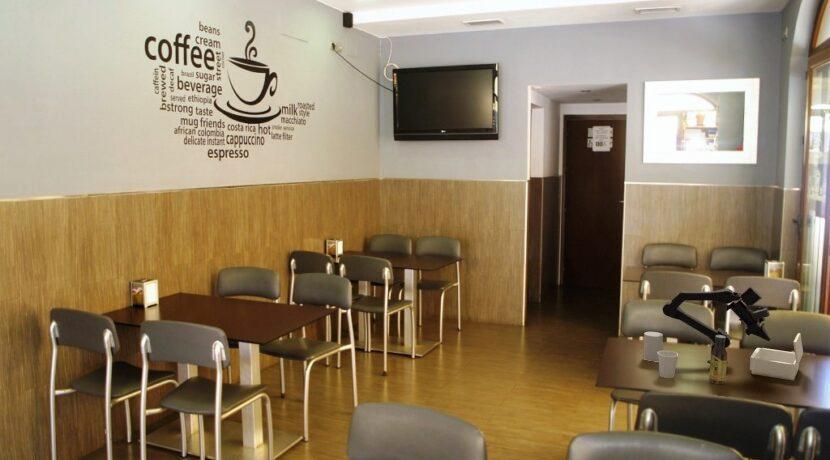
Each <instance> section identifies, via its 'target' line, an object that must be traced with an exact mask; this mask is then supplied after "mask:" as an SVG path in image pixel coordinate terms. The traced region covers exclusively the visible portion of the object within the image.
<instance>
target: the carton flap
mask: <svg viewBox="0 0 830 460" xmlns="http://www.w3.org/2000/svg"><path fill="white" fill-rule="evenodd" d="M792 344H793V349H794V353H795V358H796V363H799V364H800V361H801V360H802V358H803V355H804V350H803V343H802V334H801V332H799V333H797V334H796V336H795V338H794V340H793V343H792Z"/></svg>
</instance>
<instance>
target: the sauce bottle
mask: <svg viewBox="0 0 830 460" xmlns="http://www.w3.org/2000/svg"><path fill="white" fill-rule="evenodd" d="M725 341H726V337H725V336H722V335H716V336H715V346H714V349H713V351H712V353H711V352H710V359H709V360H710V362H709V376H708V377H709V382H710V383H712V384H714V385H724V384H725V383H726V378H727V377H726V376H727V367H728V366H727V364H728V363H727V362H728V351H727V348H725Z"/></svg>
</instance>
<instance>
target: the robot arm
mask: <svg viewBox="0 0 830 460" xmlns="http://www.w3.org/2000/svg"><path fill="white" fill-rule="evenodd" d="M762 299H763V297H762V296H761V294H760V293H759V292H758V291H757V290H755V289H754V288H752V287H751V286H749V287H747V289H746V290H744V291H743V292H742V293H741V292H735V291H733V290H732V289H731V288H722V289H717V290H713V291H685V290H682V291H680V292H678V294H677V295H675V296H674V298H673V299H672V300H670V301H667V302H665V303H664V305H663V306H662V313H663V314H664V316H666V317H669V318H671V319H675V320H678V321H681V322H682V323H684V324H685V325H687V326H689V327H690V328H693V329H694V330H696V331H698V332H699V333H701V334H703V335H704V336H706V337H708V338H709V339H710V341H711V346H710V354H711V353H712V351H713V349H714V346H715V336H716V335H722V336H725V337H726V341H725V349H727V348H729V347H730V345H731V335H729V334H728V331H725V330H723V329H722V328H721V327H718V329H714V328H712V327H710V326H709V325H707V324H705V323H703V322H702V321H700V320H699V319H697V318H695V317H693V316H692V315H690V314H688V313H687V312H685V311H684V310H683V309H682V308H681V307H680V306H681V305H682V303H684V302H686V301H691V302H693V301H695V302H696V301H699V302H700V301H701V302H702V301H706V302H708V301H711V302H712V301H713V302H716V303H720V304H725V311H726V312H728V311H730V310H731V311H732V312H733V313H734V315H736V316H737V318H738V320H739V321H740V322H742V323H743V324H744V325H745V329H744V333H745V335H747V336H748V337H749V336H750V335H754V336H757V338H760V339H763V340H764V341H767V342H770V341H771V340H772V339H771V338H770V336H769V334H768V332H767V330H766V329H765V323H766V322H765V320H766V318H768V317H770V315H771V314H770V312H769V309H768V307H765V306H764V305H762V306H759V308H758V310H756V311H754V310H753V309H750V308H749V306H751V307H752V306H754V305H755V304H757V303H758V302H759V301H760V300H762ZM747 306H748V307H747ZM710 360H711V359H709V360H707V363H710ZM728 363H729V361H727V364H728Z"/></svg>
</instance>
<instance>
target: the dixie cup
mask: <svg viewBox="0 0 830 460" xmlns="http://www.w3.org/2000/svg"><path fill="white" fill-rule="evenodd" d="M678 357H679V353H677V352H676V351H672V350H662V351H659V352H658V359H659V362H658V368H659V369H658V371H659V377H661V378H663V377H664V378H665V379H673V378H675V374H676V366H677V362H678Z"/></svg>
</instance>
